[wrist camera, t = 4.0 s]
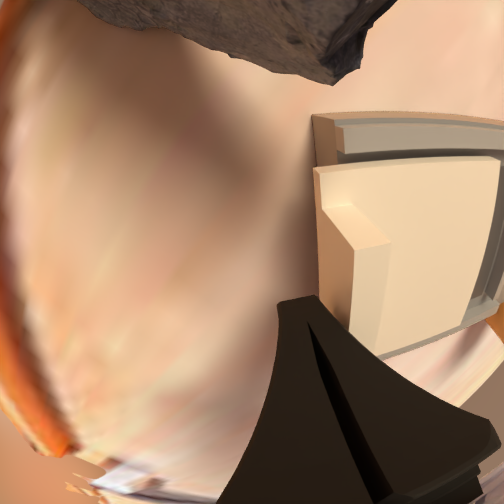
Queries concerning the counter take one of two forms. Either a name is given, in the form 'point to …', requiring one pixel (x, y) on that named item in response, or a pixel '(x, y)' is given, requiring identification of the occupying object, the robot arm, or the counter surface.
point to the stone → (262, 29)
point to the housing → (420, 146)
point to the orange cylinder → (497, 322)
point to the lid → (402, 244)
